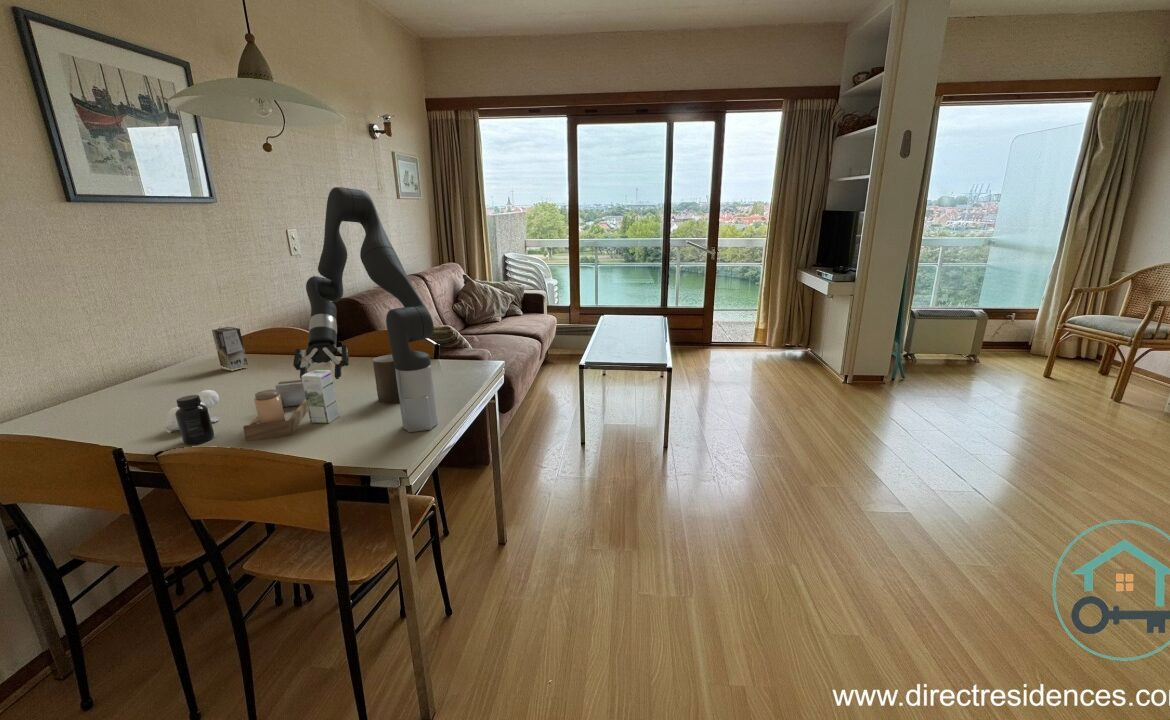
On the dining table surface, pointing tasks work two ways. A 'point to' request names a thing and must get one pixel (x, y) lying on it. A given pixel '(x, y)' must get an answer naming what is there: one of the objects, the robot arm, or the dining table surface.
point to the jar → (269, 406)
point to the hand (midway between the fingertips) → (320, 379)
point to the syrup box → (320, 396)
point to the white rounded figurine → (207, 399)
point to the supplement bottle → (193, 420)
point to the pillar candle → (386, 379)
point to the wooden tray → (276, 424)
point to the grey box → (291, 393)
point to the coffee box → (230, 347)
